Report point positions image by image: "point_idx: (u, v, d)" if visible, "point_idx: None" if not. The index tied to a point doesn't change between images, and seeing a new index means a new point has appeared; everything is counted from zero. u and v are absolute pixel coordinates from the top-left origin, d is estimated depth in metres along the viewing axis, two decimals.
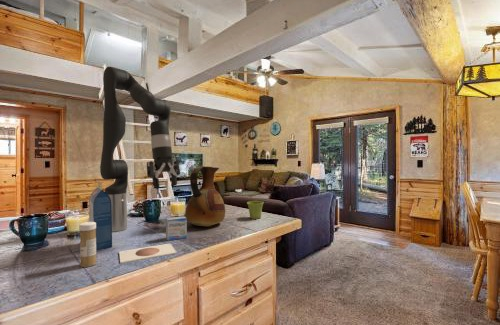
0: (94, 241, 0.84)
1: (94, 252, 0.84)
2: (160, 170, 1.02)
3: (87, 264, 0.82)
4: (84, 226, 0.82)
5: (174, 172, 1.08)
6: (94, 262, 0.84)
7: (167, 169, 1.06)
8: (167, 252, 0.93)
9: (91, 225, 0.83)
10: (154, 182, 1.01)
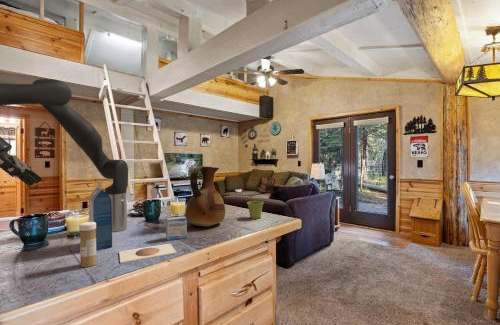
0: (94, 241, 0.84)
1: (94, 252, 0.84)
2: None
3: (87, 264, 0.82)
4: (84, 226, 0.82)
5: None
6: (94, 262, 0.84)
7: None
8: (167, 252, 0.93)
9: (91, 225, 0.83)
10: None
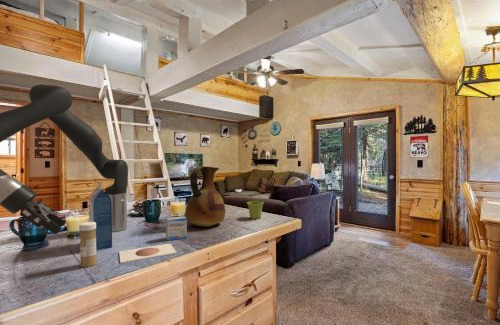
0: (94, 241, 0.84)
1: (94, 252, 0.84)
2: None
3: (87, 264, 0.82)
4: (84, 226, 0.82)
5: (38, 223, 0.75)
6: (94, 262, 0.84)
7: None
8: (167, 252, 0.93)
9: (91, 225, 0.83)
10: None
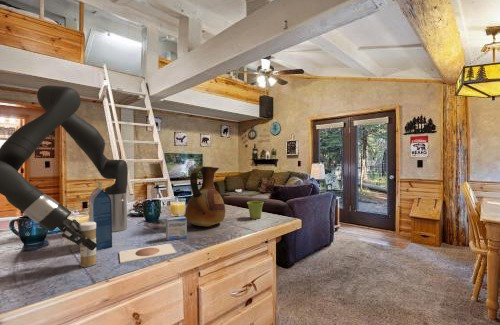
0: (94, 241, 0.84)
1: (94, 252, 0.84)
2: None
3: (87, 264, 0.82)
4: (84, 226, 0.82)
5: (76, 240, 0.80)
6: (94, 262, 0.84)
7: None
8: (167, 252, 0.93)
9: (91, 225, 0.83)
10: None
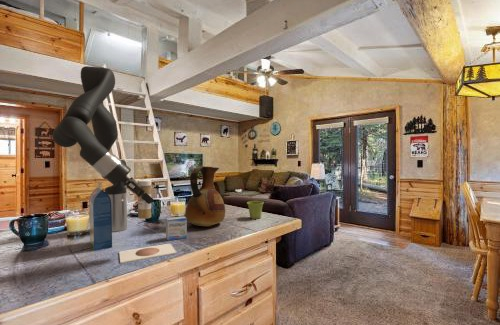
0: (150, 196, 0.93)
1: (150, 206, 0.93)
2: None
3: (145, 216, 0.91)
4: (142, 181, 0.91)
5: None
6: (150, 215, 0.93)
7: None
8: (167, 252, 0.93)
9: (148, 181, 0.92)
10: None
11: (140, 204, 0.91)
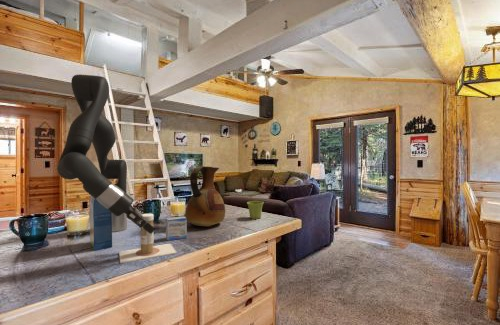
0: None
1: (152, 240, 0.93)
2: None
3: (147, 251, 0.92)
4: (145, 217, 0.91)
5: (138, 224, 0.89)
6: (152, 249, 0.93)
7: None
8: (167, 252, 0.93)
9: (150, 216, 0.92)
10: None
11: (142, 239, 0.91)
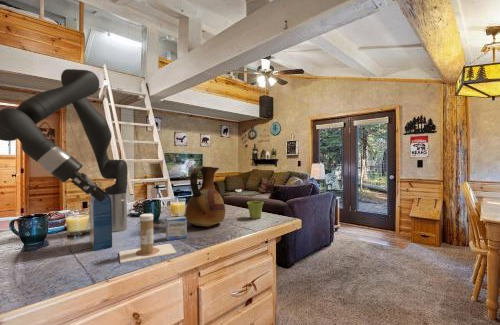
0: (152, 231, 0.93)
1: (152, 240, 0.93)
2: None
3: (147, 251, 0.92)
4: (144, 217, 0.91)
5: None
6: (152, 249, 0.93)
7: None
8: (167, 252, 0.93)
9: (150, 216, 0.92)
10: None
11: (142, 239, 0.91)
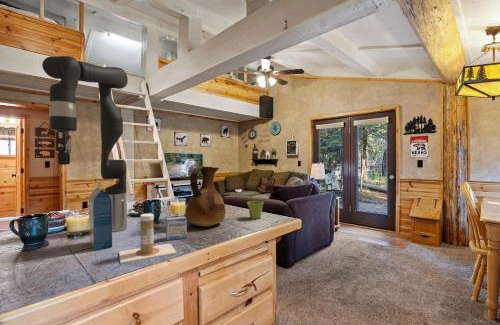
0: (152, 231, 0.93)
1: (152, 240, 0.93)
2: None
3: (147, 251, 0.92)
4: (145, 217, 0.91)
5: None
6: (152, 249, 0.93)
7: None
8: (167, 252, 0.93)
9: (151, 216, 0.92)
10: None
11: (143, 239, 0.91)
